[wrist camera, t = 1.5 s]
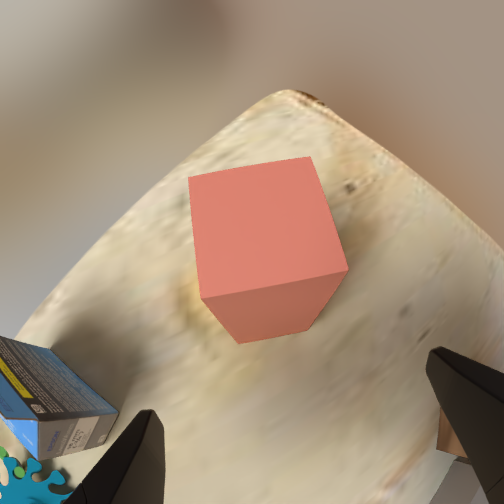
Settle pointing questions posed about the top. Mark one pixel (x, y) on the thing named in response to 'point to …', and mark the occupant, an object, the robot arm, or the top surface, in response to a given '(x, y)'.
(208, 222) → the red block
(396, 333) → the top surface
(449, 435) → the walnut cube
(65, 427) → the label tape cartridge
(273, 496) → the top surface
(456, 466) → the gray cube
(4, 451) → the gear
